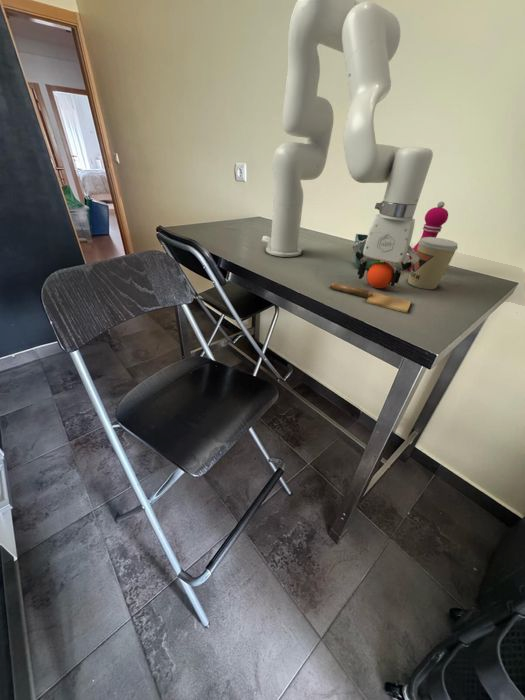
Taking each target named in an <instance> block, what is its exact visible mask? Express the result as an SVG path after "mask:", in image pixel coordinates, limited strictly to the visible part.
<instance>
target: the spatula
mask: <svg viewBox="0 0 525 700" xmlns="http://www.w3.org/2000/svg"><path fill="white" fill-rule="evenodd" d="M329 287H330V288H331V289H332V290H335V291H339V292H342V293H346V294H350V295H355V296H358V297H361V298H366V303H367V304H371V305H374V306H379V307H383V308H387V309H389V310H394V311H398V312H401V313H405V314H408V311H409V309H410V306H411V303H412V301H409V300H406V299H402V298H397V297H393V296H390V295H385V294H382V293H377V292H372V291H371V290H368V289H364V288H360V287H355V286H351V285H348V284H343V283H340V282H335V281H333V282H331V283H330V286H329Z"/></svg>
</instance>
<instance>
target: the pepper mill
mask: <svg viewBox="0 0 525 700" xmlns="http://www.w3.org/2000/svg"><path fill="white" fill-rule="evenodd" d="M445 204H446V203H445V202H444V201H443V200H442V201H439V202H438V203H437V207H432V208H430V209H429V210H427V212H426V213H425V215H424V222H425V224H423V227H422V235H421V237H420V239H419V241H420V240H421V239H422V238H424V237H435V238H438V237H437V236H438V235H439V233H441V231H442V229H443V225H444V224H446V223H447V221H448V219H449V212H448V210H447V209H446V208H444V207H445ZM419 241H418V242H417V243H416V244H415V245H414V246H413V247H412V248H413V249H414V251H415V252H417V248H418V245H419ZM408 258H409V261H410V260H411V259H412V257H411V256H410V255H409V254H408ZM411 269H412V266H411V267H410V268H408V269H407V270H408V271H409V272H411Z"/></svg>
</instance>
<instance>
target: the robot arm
mask: <svg viewBox="0 0 525 700" xmlns="http://www.w3.org/2000/svg"><path fill="white" fill-rule="evenodd" d="M288 26H289V27H288V35H287V73H286V80H285V90H284V100H283V108H282V109H283V110H282V128H283V130H284V132H285V133H286V134H287V135H289V136H292V137H297V138H304V142H296V141H287V142H284V143H281V144H280V145H278V146H277V148H276V149H275V151H274V154H273V157H272V171H273V204H272V205H273V207H272V220H271V236H268V235H263V236H262V238H261V243H264V244H267V245H266V248H265V252H266V253H268V254H269V255H271V256H275V257H281V258H295V257H298V256H301V255H302V249H301V247H299V238H300V230H301V221H302V213H303V205H304V190H303V185H302V181H312V180H313V181H314V180H316V179H317V178H319V177H320V176H321V175H322V174H323V172H324V170H325V167H326V163H327V158H328V153H329V147H330V143H331V138H332V132H333V127H334V122H335V121H334V117H335V116H334V109H333V105H332V103H331V102H330V101H329V100H328V99H327V98H325V97H322V96H318V89H319V81H320V76H321V63H320V56H319V52H318V51H319V50H318V46H319V45H322V46H323V47H326V48H329V49H332V50H335V51H337V52H340V53H342V54H343V57H344V58H343V59H344V65H345V71H346V77H347V83H348V84H347V85H348V91H349V98H350V106H349V109H348V112H347V114H346V118H345V123H344V127H343V134H342V137H343V138H342V139H343V142H342V143H343V150H344V157H345V162H346V166H347V170H348V173H349V175H350V176H351V178H352V179H353V180H354V181H355V182H356V183H359V184H360V183H361V184H368V183H369V184H387V185H386V189H385V192H384V196H383V199H382V201H381V202H376V203H375V206H374V209H375V210H378V211H379V213H378V214H376V215H375V216H374V218H373V220H372V222H371V225H370V228H369V231H368V233H367V235H368V237H367V239H365V240H363V241H361V242H359V243H357V244H355V243H354V244H353V245H352V249H353V253H354V252H355V256H356V257H357V259H358V261H359V263H360V266H359V268H358V270H357V275H358V278H357V279H359V280H362V279H363V278H364V277H365V273H366V270H367V269H366V266H367V262H366V260H367V259H368V258H372V259H377V260H380V262H386V263H392V264H395V266H396V269H395V270H394V276H393V279H392V282H391V283H390V284H389V286H390V287H391V288H393V287H395V284H399V281H400V279H401V275H402V273H403V272H404V271H406V270H408V268H410V267H411V266H412V265H414V264H415V263H416V262H417V261H419V260H420V256H419V255H418V254H417V253H416V252H415V251H414V249H413V248H414V247H412V246H411V242H412V238H413V235H414V230H415V222H416V219H415V218H414V215H415V213H416V209H417V206H418V203H419V200H420V196H421V194H422V191H423V188H424V185H425V183H426V179H427V175H428V172H429V170H430V166H431V163H432V160H433V157H434V152H433V150H432V149H431V148H430V147H429V148H428V147H422V146H421V147H420V146H403V147H399V146H393V145H390V144H389V145H388V144H383V143H377V139H376V133H375V124H374V123H375V122H374V118H375V117H374V116H375V110H376V107H377V105H378V104H379V103H380V102H381V101H383V100H384V99H385V98H386V97H387V96H388V94H389V93H390V90H391V87H392V81H391V71H390V61H392V59H393V58H394V56H395V54H396V53H397V51H398V48H399V45H400V40H401V24H400V21H399V19H398V17H397V16H396V15H395V14H394V13H393V12H391V11H389V10H387V8H384V7H382V6H381V5H379V4H378V3H375V2H374V1H362V2H359V1H357V0H297V1H296V2H295V5H294V7H293V10H292V13H291V17H290V20H289V25H288ZM364 245H365V247H364V251H363V254H364V256H363V254H362V253H361V251H360V247H362V246H364ZM407 255H408V256H409V255H410V256H411V257H412V259H411V260H410V259H409V261H407V262H405V263H404V261H405V258H406V257H407ZM364 268H365V269H364Z"/></svg>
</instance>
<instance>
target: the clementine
mask: <svg viewBox="0 0 525 700" xmlns="http://www.w3.org/2000/svg"><path fill="white" fill-rule="evenodd" d="M372 263H375V264H373V265H372V266H371V267H370V268H369V269H367V272H366V280H367V282H368V284H369V285H370V286H371V287H373V288H375V289H383V288H386V287H388V286H390V285H391V282H392V279H393V276H394V273H395V270H394V267H393V266H392V265H391V263H390V262H386V261H381V260H380V261H377V262H372ZM372 263H369V264H372ZM369 264H368V265H369ZM364 269H365V268H364ZM365 270H366V269H365Z"/></svg>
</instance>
